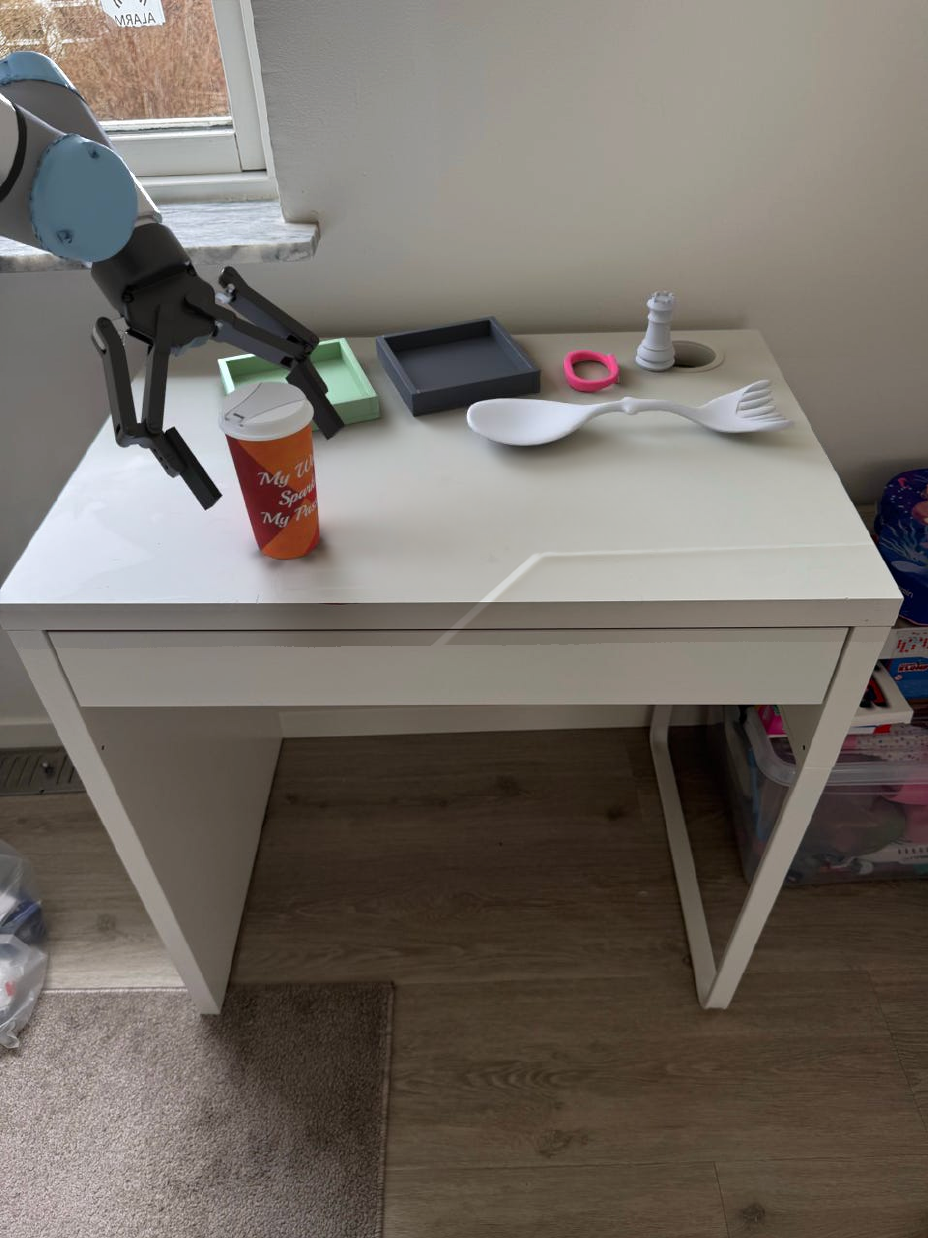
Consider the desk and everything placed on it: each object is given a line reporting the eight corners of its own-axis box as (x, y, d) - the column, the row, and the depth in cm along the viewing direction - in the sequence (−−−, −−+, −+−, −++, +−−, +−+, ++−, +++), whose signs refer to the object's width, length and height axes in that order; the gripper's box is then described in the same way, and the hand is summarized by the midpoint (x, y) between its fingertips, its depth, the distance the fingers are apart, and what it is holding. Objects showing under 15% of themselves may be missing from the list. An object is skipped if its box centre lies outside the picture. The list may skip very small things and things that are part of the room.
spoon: (789, 449, 94) (796, 419, 92) (468, 460, 94) (467, 429, 92) (765, 404, 101) (771, 374, 98) (466, 413, 101) (465, 384, 98)
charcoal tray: (413, 416, 101) (411, 394, 99) (377, 356, 111) (375, 336, 109) (540, 391, 104) (540, 370, 102) (493, 336, 114) (493, 315, 112)
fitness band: (623, 392, 103) (624, 379, 102) (569, 394, 103) (570, 382, 102) (610, 357, 109) (611, 345, 108) (560, 359, 109) (560, 347, 108)
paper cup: (288, 578, 81) (261, 436, 71) (227, 546, 84) (194, 406, 75) (350, 533, 85) (332, 394, 76) (289, 504, 89) (265, 368, 80)
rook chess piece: (680, 359, 109) (690, 292, 103) (665, 376, 106) (674, 307, 100) (644, 351, 110) (652, 284, 105) (628, 366, 108) (635, 298, 102)
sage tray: (242, 444, 97) (238, 422, 95) (222, 380, 107) (217, 359, 106) (379, 417, 100) (377, 395, 99) (346, 358, 111) (344, 337, 109)
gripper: (232, 227, 87) (363, 423, 90) (-20, 322, 73) (143, 550, 76) (260, 178, 81) (400, 390, 84) (-10, 272, 67) (168, 521, 70)
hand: (278, 466), depth 80 cm, fingers open, 13 cm apart
